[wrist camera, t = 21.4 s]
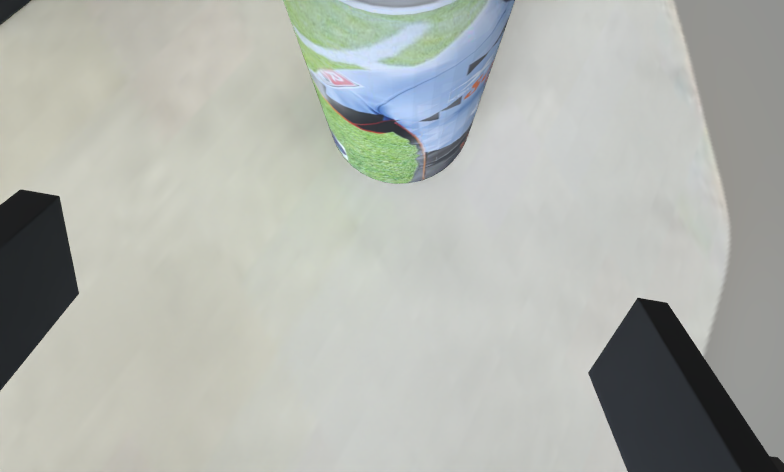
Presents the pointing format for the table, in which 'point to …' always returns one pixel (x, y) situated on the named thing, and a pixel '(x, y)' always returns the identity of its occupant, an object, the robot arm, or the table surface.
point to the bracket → (10, 8)
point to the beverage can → (399, 76)
